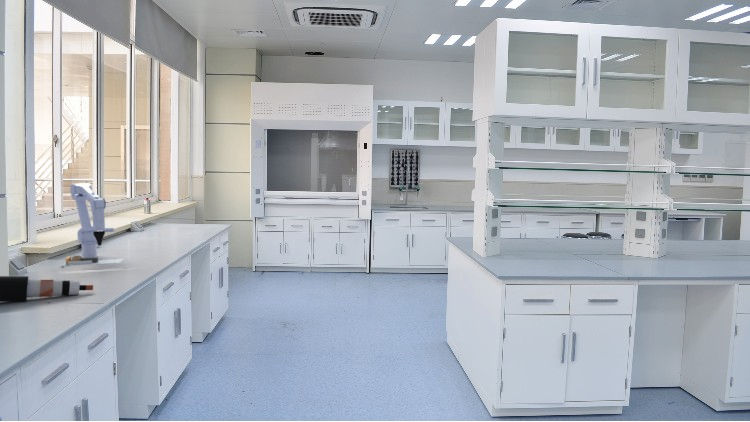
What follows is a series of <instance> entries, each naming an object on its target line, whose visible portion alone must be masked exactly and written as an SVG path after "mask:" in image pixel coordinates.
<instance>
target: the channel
mask: <svg viewBox="0 0 750 422" xmlns="http://www.w3.org/2000/svg"><path fill="white" fill-rule="evenodd" d="M122 262H123V258H115V259H98V262H95V263H92V261H73V262H72V256H71V255H70V256H67V257H66V258H65V262H64V263H63V264H62V265H61V268H64V267H66V266H81V265H83V266H85V265H103V264H104V265H105V264H120V263H122Z"/></svg>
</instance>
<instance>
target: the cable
mask: <svg viewBox="0 0 750 422" xmlns="http://www.w3.org/2000/svg"><path fill="white" fill-rule="evenodd" d="M80 283H81V281H80V280H63V279H60V280H59V279H55V280H54V279H32V278H30V279H29V276H27V275H26V276H25V275H23V276H22V275H21V276H20V275H18V276H17V275H16V276H15V275H12V276H11V275H10V276H9V275H8V276H7V275H5V276H4V275H1V276H0V302H2V303H3V302H27V300H28V299H29V298H43V297H44V298H52V297H60V296H64V297H65V296H79V295H80V294H79V293H80V291H93V290H94V285H93V284H91V285H90V284H88V285H87V284H80Z"/></svg>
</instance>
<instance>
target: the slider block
mask: <svg viewBox="0 0 750 422" xmlns="http://www.w3.org/2000/svg"><path fill="white" fill-rule="evenodd" d="M81 258H82V255H79V254H78V255H73V256H71V259H72V262H73V261H81Z"/></svg>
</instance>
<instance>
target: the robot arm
mask: <svg viewBox="0 0 750 422" xmlns="http://www.w3.org/2000/svg"><path fill="white" fill-rule="evenodd" d="M69 190H70V191H69V192H70V195H71V196H70V197H71V199H72V200H73V201H75V203H76V208H77V213H78V217H79V222H80V226H81V228H79V229H78V230H77V241H78V243H79V244H80V245H81V256H82V258H92V257H98V253H97V252H98V251H97V248H98V247H97V246H102V243H103V240H104V237H105V234H106V233H114V232H115V228H114V227H106V220H105V209H106V207H107V203H106V202H107V201H106V200H105V198H104V197H103V198H100V196H99V195H98V194H97V193H96V192H95V191H93V187H92V184H91V183H89V182H86V183H71V184H70V189H69ZM86 201H87V202H88V203H89V206H90V210H91V213H92V223H91V220H90V214H89V211H88V205H87V202H86Z"/></svg>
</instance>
